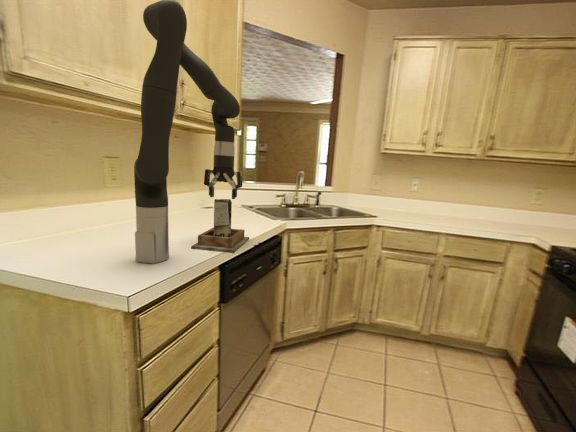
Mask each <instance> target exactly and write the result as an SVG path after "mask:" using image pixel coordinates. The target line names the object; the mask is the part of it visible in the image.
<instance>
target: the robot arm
mask: <svg viewBox="0 0 576 432" xmlns="http://www.w3.org/2000/svg"><path fill="white" fill-rule="evenodd" d="M187 19H188V18H187V15H186V12H185V10H184V8H183V6H182V5H181V3H179V2H178V1H177V0H159V1H156V2H154V3H151V4H149V5H147V6H146V7H145V8H144V10H143V15H142V21H143V23H144V26H145V28H146V30H147V31H148V33H149V34H150V35H151V36H152V37H153V39H155V41H156V45H155V46H156V47H155V52H154V55H153V57H152V59H151V61H150V63H149V66H148V68H147V69H146V72H145V74H144V76H143V82H142V88H141V96H140V97H141V99H140V119H141V141H140V146H139V151H138V154H137V158H136V159H135V161H134V166H133V172H134V173H133V174H134V175H133V177H134V178H133V179H134V197H135V222H136V223H135V224H136V226H135V227H136V231H135V232H134V244H135V262H136V263H144V264H151V265H153V264H156V263H162V262H165V261H167V260H169V258H170V247H169V242H170V241H169V240H170V239H169V238H170V237H169V195H168V187H167V186H168V184H167V182H168V181H167V178H168V175H169V172H170V166H169V164H170V161H169V159H170V158H169V157H170V155H169V154H170V152H169V151H170V149H169V148H170V147H169V146H170V145H169V144H170V138H171V137H170V136H171V132H172V128H173V124H174V123H173V121H174V118H175V110H176V104H177V102H176V101H177V95H178V91H177V90H178V82H179V73H180V67H181V68H182V69H183V70H184V71H185V72H186V73H187V74H188V76H189V77H190V78H191V79H192V81H193V82H194V83H195V85H196V86H197V88H198V89H199V90H200V92H201V93H202V94H203V95H204V97H205V98H206V99H208V100H211V101H213V102H212V104H211V109H210V110H211V111H210V112H211V117H212V122H213V126H214V131H215V132H214V146H213V169H209V168H206V169H205V170H204V176H203V177H204V178H203V185H204V186H206V187H208V195H209V198H214V197H215V185H216V184H218V182H220V183H221V182H223V183H228V184H229V185H230V186H231V188H232V189H231V200H236V198H237V197H238V189H241V188H242V187H243V172H242V171H235V127H234V126H231V125H229V124H228V119H229V120H230V119H235V118H237V117H238V116H239V115H240V113H241V106H240V103H239V101H238V100H237V98H236V97H235V96H234V95H233V93H231V92H230V91H229V90H228V89H227V87H225V86H224V85H223V84H221V81H220V80H219V78H218V77H217V75H216V74H215V73H214V71H213V69H212V68H211V67H210V66H209V65H208V64H207V62H205V61H204V60H203V59H201V58H200V57H199V56H198V55H197V54H196V53H195V52H194V51H192V50H191V49H190V48H189V47H188V46H187V45H186V43H185V39H186V35H187V31H188V30H187V29H188V20H187ZM211 175H213V178H212V179H211ZM234 176H235V177H236V179H237V180H236V181H237V183H236V182H235V180H234V178H233V177H234Z"/></svg>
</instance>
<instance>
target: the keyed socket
mask: <svg viewBox="0 0 576 432" xmlns="http://www.w3.org/2000/svg"><path fill="white" fill-rule="evenodd" d="M249 240H250V236H245V229H242V228H241V229H239V228H231V237H218V236H214V226H213V227H211V228H210V229H208V230H206V231H204V232H202V233H200V234H198V235H197V242H195V243H194V244H192V245H191V246H190V247H191V248H190V249H192V250H198V251H199V250H201V251H210V252H211V251H212V252H219V253H229V254H234V253H235V252H236V251H237V252H238V250H239V249H240V248H241V247H242V246H244V245H245V244H246V243H247V242H249Z"/></svg>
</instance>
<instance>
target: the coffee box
mask: <svg viewBox="0 0 576 432" xmlns="http://www.w3.org/2000/svg"><path fill="white" fill-rule="evenodd" d="M213 204H214V205H213V227H214V236H218V237H231V229H232V205H233V202H232V199H229V198H228V199H227V198H224V199H223V198H220V199H217V198H216V199H214V203H213Z"/></svg>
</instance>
